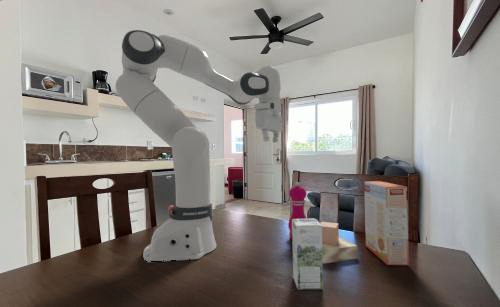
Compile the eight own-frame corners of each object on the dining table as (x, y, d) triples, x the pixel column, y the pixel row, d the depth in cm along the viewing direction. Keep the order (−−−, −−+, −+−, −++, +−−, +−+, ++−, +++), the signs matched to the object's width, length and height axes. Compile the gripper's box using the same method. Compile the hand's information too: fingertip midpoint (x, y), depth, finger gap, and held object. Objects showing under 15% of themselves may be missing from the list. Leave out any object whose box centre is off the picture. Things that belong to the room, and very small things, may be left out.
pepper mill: (310, 242, 83) (308, 183, 83) (288, 241, 84) (287, 183, 84) (308, 235, 90) (307, 180, 90) (288, 234, 91) (287, 180, 91)
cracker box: (410, 266, 63) (408, 186, 64) (386, 266, 64) (384, 186, 64) (384, 246, 77) (382, 180, 78) (365, 246, 78) (363, 180, 78)
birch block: (323, 265, 66) (322, 250, 66) (304, 250, 77) (303, 237, 77) (357, 259, 69) (357, 245, 69) (334, 246, 80) (334, 233, 80)
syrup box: (316, 277, 59) (314, 217, 59) (323, 290, 53) (322, 224, 53) (292, 277, 59) (291, 217, 59) (297, 291, 53) (295, 224, 53)
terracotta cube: (336, 245, 70) (336, 227, 70) (318, 242, 72) (318, 225, 72) (338, 239, 74) (338, 223, 74) (321, 237, 76) (321, 221, 76)
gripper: (272, 112, 110) (273, 143, 110) (252, 104, 92) (252, 141, 92) (285, 110, 107) (286, 142, 107) (267, 102, 89) (268, 140, 89)
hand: (271, 141), depth 99 cm, fingers open, 8 cm apart
